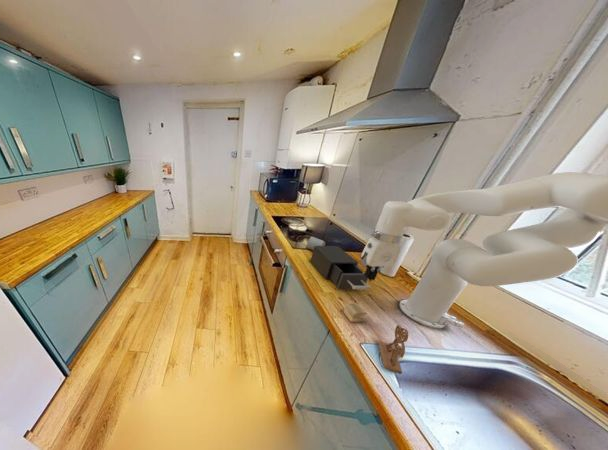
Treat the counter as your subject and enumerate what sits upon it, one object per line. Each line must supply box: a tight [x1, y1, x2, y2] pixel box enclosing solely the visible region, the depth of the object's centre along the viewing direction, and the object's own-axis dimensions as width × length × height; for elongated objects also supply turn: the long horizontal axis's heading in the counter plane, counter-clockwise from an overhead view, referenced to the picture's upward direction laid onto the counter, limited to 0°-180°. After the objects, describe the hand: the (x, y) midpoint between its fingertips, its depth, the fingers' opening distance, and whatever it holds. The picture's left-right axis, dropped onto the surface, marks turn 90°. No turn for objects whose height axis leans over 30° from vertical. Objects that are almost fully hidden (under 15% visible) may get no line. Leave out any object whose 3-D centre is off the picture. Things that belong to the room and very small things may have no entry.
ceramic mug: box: [306, 236, 326, 251], centre depth 116 cm, size 11×8×8 cm
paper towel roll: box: [379, 232, 415, 278], centre depth 94 cm, size 7×6×21 cm
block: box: [342, 302, 367, 323], centre depth 73 cm, size 4×4×4 cm
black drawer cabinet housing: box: [309, 245, 359, 280], centre depth 98 cm, size 15×13×10 cm
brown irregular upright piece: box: [377, 324, 409, 375], centre depth 58 cm, size 9×4×12 cm, turn 151°
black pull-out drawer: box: [329, 264, 372, 290], centre depth 88 cm, size 18×11×8 cm, turn 2°
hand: (369, 277), depth 77 cm, fingers closed
